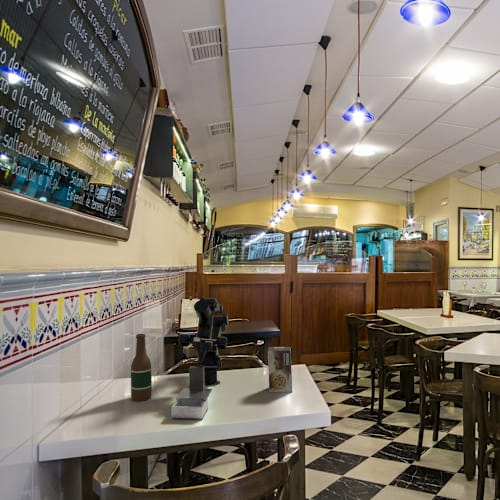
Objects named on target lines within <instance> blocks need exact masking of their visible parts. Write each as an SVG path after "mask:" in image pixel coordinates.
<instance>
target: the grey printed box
mask: <svg viewBox="0 0 500 500" xmlns="http://www.w3.org/2000/svg"><path fill="white" fill-rule="evenodd" d="M291 349H292V348H291V346H269V347H268V349H267V361H268V363H267V364H268V365H267V366H268V367H267V368H268V392H269V393H293V374H292V373H293V372H292V370H293V369H292V350H291Z"/></svg>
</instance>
